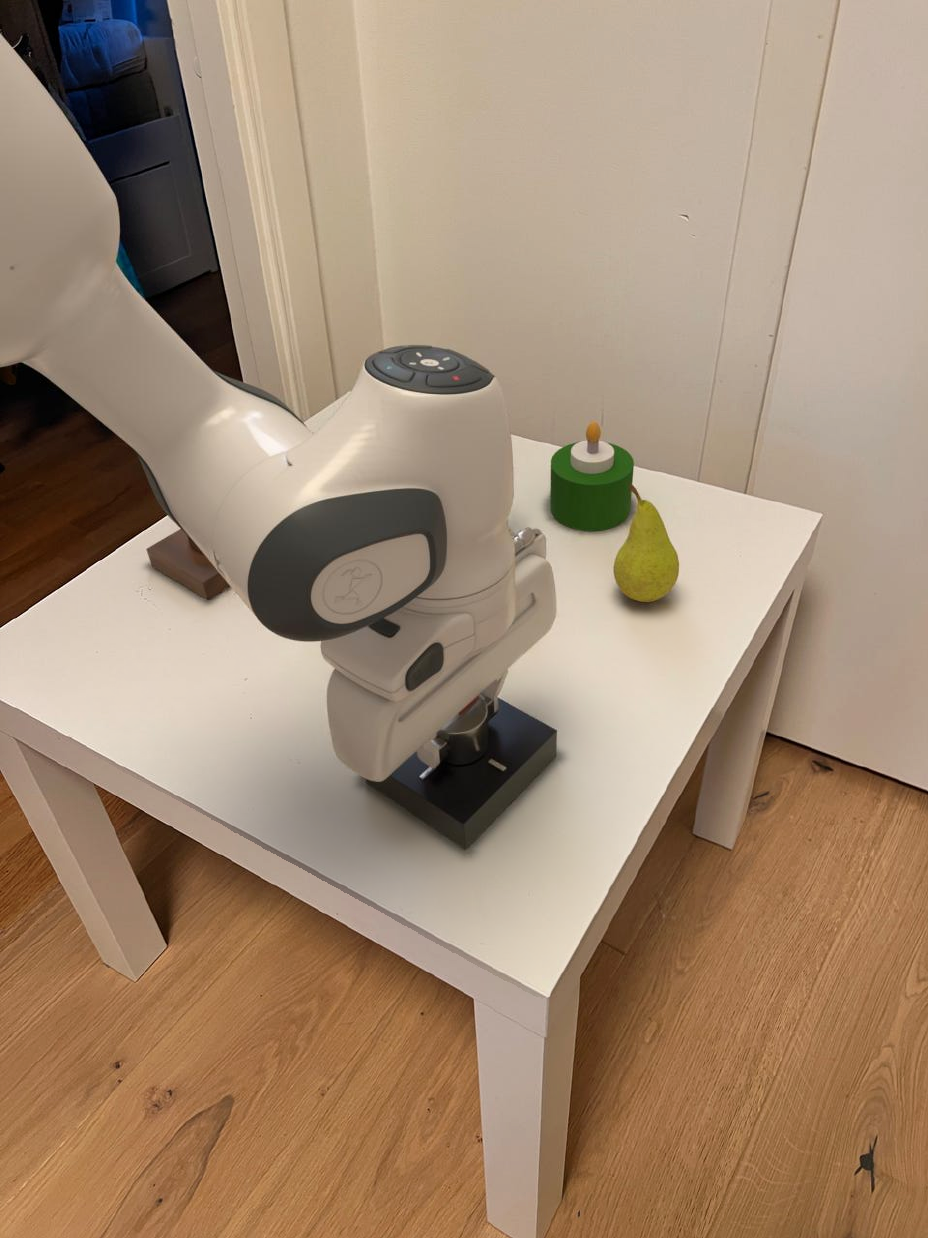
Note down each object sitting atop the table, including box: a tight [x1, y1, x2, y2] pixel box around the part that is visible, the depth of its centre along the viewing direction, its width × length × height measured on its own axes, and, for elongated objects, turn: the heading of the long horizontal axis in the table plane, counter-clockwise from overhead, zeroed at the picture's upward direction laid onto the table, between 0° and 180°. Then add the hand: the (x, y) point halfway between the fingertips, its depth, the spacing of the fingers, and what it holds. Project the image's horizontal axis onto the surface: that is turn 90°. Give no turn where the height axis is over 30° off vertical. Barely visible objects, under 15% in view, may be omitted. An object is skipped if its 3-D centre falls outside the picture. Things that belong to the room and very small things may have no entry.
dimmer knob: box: [436, 695, 489, 765], centre depth 69 cm, size 4×4×4 cm
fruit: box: [613, 483, 680, 603], centre depth 83 cm, size 6×6×12 cm
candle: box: [549, 421, 635, 532], centre depth 95 cm, size 8×8×10 cm
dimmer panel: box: [364, 697, 558, 851], centre depth 71 cm, size 11×10×3 cm
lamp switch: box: [145, 528, 231, 601], centre depth 94 cm, size 12×9×4 cm
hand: (458, 735), depth 70 cm, fingers closed on dimmer knob, 4 cm apart
